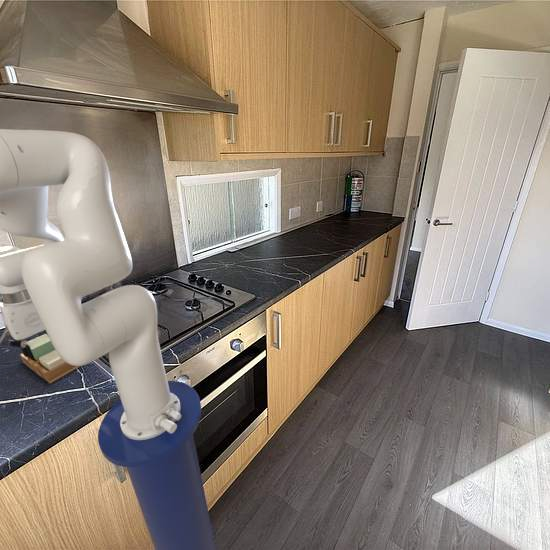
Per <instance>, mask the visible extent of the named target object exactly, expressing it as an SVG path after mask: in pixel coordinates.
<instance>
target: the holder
mask: <svg viewBox="0 0 550 550" xmlns="http://www.w3.org/2000/svg"><path fill="white" fill-rule="evenodd" d="M19 356H20V360H21V361H22V363H23V364H24V365H25V366H26V367H28V368H29V369H30V370H32V371H33V372H34V373H36V374H37V375H38V376H39V377H41V378H42V379H44V380H45V381H46V382H47V383H49V384H52V383H54V382H55V381H57V380H59V379H60V378H62V377H64V376H66V375H68V374H69V373H72V372H73V371H75V370H76V369H78V368H80V367H81V366H73V365H70V364H68V363H67V362H65V363H63V364H61V365H59V366H57V367H55V368H53V369H52V370H50V371H47V370H46V369H44V368H43V367H42V365H41V363H40V360H39V359H38V360H36V359H34V358H32V359H31V358H29V357H28V356H27V357H25V356H24V355H23V352H22V353H19Z"/></svg>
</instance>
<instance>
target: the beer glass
mask: <svg viewBox="0 0 550 550" xmlns="http://www.w3.org/2000/svg"><path fill="white" fill-rule="evenodd" d="M123 286H124V285H123V279H122V280H121V281H119V282H117V283H115V284H112V285H110V286H108V287H105V288H103V289H102V291H103V294H105V293H107V292H109V291H112V290H114V289H117V288H119V287H123Z"/></svg>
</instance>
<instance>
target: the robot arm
mask: <svg viewBox="0 0 550 550" xmlns="http://www.w3.org/2000/svg"><path fill="white" fill-rule="evenodd" d="M111 182H112V181H111V174H110V170H109V166H108V162H107V159H106V157H105V155H104V153H103V152H102V151H101V149H100V147H99V146H98V145H97V144H96V143H95V142H94V141H93V140H92V139H91V138H88V137H87V136H85V135H82V134H79V133H76V132H70V131H62V130H47V129H46V130H45V129H7V128H5V129H4V128H0V230H1V231H3V232H5V233H8V234H10V235H13V236H18V237H23V238H31V239H39V240H43V243H42V244H40V245H36V246H31V247H28V248H24V249H22V248H20V247H18V246H14V245H13V246H12V245H9V246H0V315H1V318H2V321H3V324H4V331H3V333H2V335H1V336H0V345H2V346H11V347H16V348H20V350H21V352H22V353H23V355H24V356H25V357H27V356H28V357H29V358H31V359H32V358H34V356H33V354H32V352H31V349H30V346H29V345H27V344H26V343H27V342H28V338H30V337H32V336H35V335H37V334H39V333H43V332H44V331H46V334H47V335H48V336H49V338H50V340H51V342H52V344H53V346H54V348H55V350H56V351H57V353H58V354H59V355H60V357H61V358H62V359H63V360H64V361H65V362H67V363H68V364H70V365H73V366H80V367H82V366H86V365H89V364H92V363H93V362H95V361H97V360H98V359H100V358H101V357H104V356H106V354H108V361H109V366H110V369H111V373H112V376H113V380H114V382H115V385H116V389H117V392H118V395H119V399H121V401H122V405H123V408H124V413H123V415H122V417H121V420H120V426H121V430H122V432H123V434H124V435H125V436H126V437H128V438H130V439H133V440H147V439H150V438H154V437H156V436H158V435H160V434H162V433H163V432H165V431H167V432H169V433H171V434H172V433H173V432H175V430H176V428H177V425H176V424H175V421H176V420H177V421H178V420H179V419H180V418H181V414H180V410H181V406H180V401H179V399H178V397H177V396H176V395H174V394H173V393H170V390H169V386H168V381H169V380H168V376H167V373H166V369H165V364H164V360H163V355H162V350H161V344H160V339H159V332H158V307H157V302H156V299H155V297H154V296H153V294H152V292H150V291H149V290H148V289H147V288H145V287H144V286H141V285H137V284H127V285H123V287H119V288H117V289H114V290H112V291H109V292H107V293H103V294H101V295H99V296H96V297H94V298H93V299H90V300H88V301H86V302H83V303H82V299H83V298H84V297H87V296H88V295H89V296H90V295H93V294H94V293H96V292H99V291H101V290H103V288H105V287H108V286H110V285H112V284H115V283H117V282H119V281H121V280H122V281H123V280H124V279H126V278H127V277H129V276H130V274H131V273H132V271H133V267H134V266H133V259H132V255H131V251H130V248H129V245H128V242H127V240H126V236H125V233H124V230H123V228H122V225H121V221H120V218H119V215H118V213H117V210H116V207H115V203H114V199H113V192H112V183H111ZM59 185H62V187H61V189H60V190H59V194H58V197H57V200H56V203H55V204H56V205H55V212H56V216H57V218H58V221H59V223H60V226H61V228H62V230H63V234H64V235H63V234H62V232H61V231H60V230H59V228H58V227H57V226H56V225H54V223H52V222H51V221H50V220H48V211H49V210H48V209H49V208H48V207H49V190H50V189H49V188H50V186H59ZM11 337H12V339H10V338H11Z"/></svg>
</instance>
